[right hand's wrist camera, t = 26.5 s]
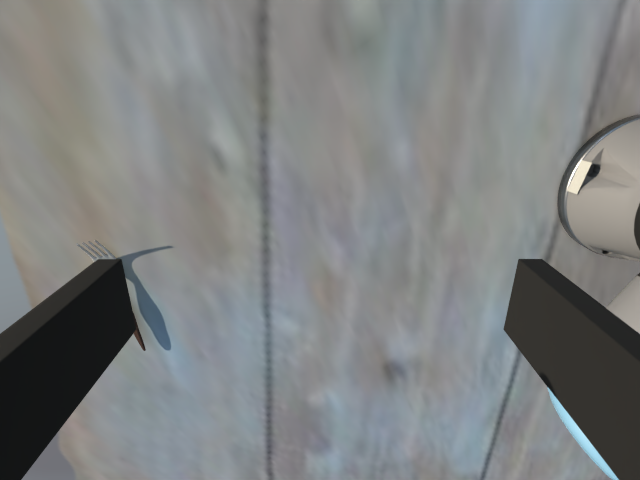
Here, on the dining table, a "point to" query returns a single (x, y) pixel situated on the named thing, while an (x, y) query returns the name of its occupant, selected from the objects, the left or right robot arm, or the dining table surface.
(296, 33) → the dining table surface
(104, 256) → the fork
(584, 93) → the dining table surface
